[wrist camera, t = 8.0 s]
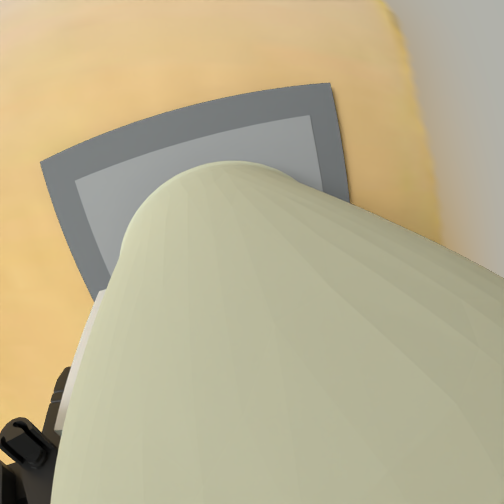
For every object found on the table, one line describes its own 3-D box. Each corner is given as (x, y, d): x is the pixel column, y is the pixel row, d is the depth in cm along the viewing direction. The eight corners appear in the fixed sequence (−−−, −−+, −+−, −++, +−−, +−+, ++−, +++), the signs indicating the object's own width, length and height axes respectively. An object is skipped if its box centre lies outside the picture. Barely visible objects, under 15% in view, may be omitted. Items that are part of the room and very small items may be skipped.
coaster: (45, 161, 11) (39, 162, 10) (324, 84, 13) (330, 82, 12) (146, 381, 16) (145, 389, 16) (352, 313, 18) (357, 319, 18)
